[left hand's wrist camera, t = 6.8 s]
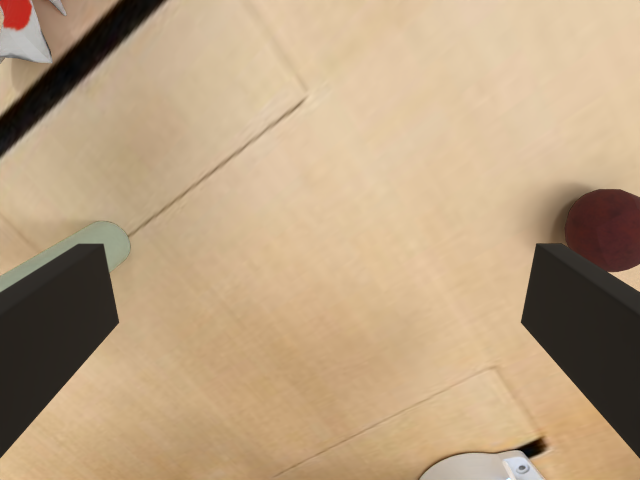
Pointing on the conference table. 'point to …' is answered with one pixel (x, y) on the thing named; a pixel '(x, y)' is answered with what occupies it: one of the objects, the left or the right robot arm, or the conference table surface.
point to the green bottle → (92, 234)
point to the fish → (23, 32)
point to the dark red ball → (606, 229)
